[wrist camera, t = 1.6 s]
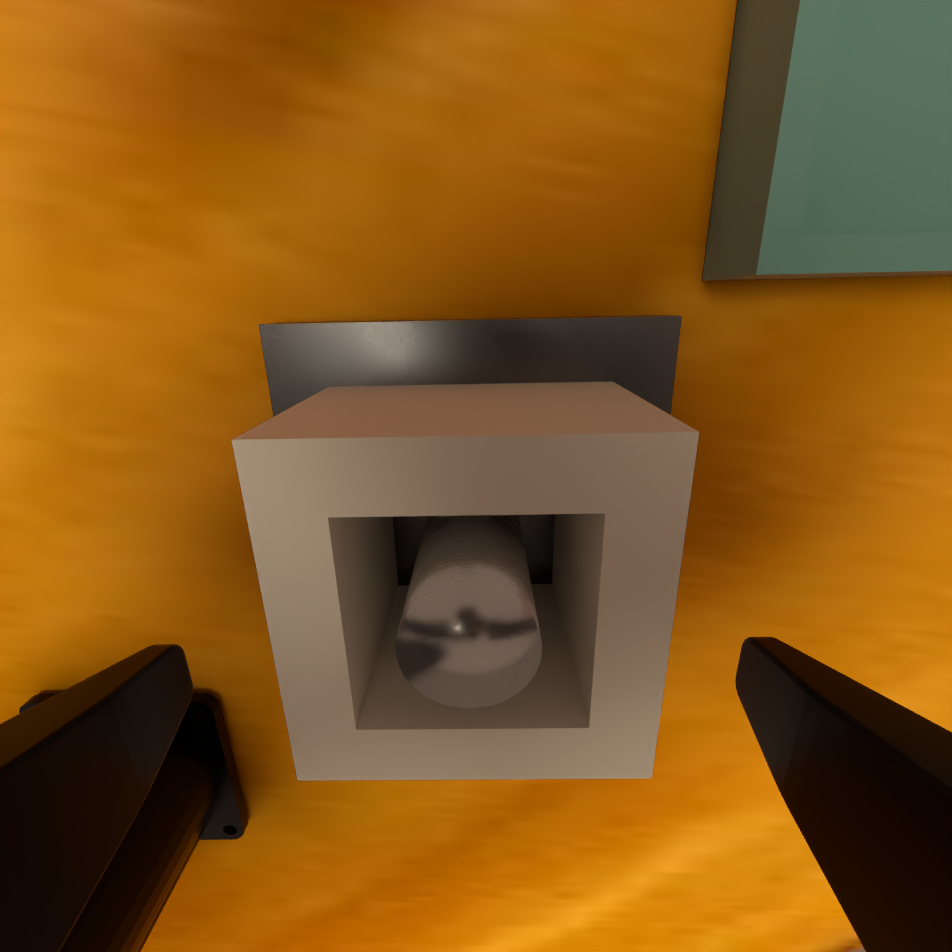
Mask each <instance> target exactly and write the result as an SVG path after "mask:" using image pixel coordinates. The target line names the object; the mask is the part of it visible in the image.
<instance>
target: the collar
mask: <svg viewBox="0 0 952 952" xmlns="http://www.w3.org/2000/svg"><path fill="white" fill-rule="evenodd" d="M698 438H699V431H697V430H695V429H693V428H692V427H690V426H688V425H687V424H685V423H683V422H681V421H680V420H678V419H676V418H675V417H673V416H671V415H669V414H668V413H666V412H664V411H663V410H661V409H659V408H657V407H656V406H654V405H652V404H651V403H649V402H647V401H645V400H644V399H642V398H640V397H639V396H637V395H635V394H633V393H632V392H630V391H628V390H627V389H625V388H623V387H621V386H620V385H618V384H616V383H615V382H613V381H611V382H556V383H500V384H445V385H390V386H335V387H327V388H326V389H324V390H322V391H320V392H318V393H316V394H315V395H313V396H311V397H309V398H307V399H305V400H304V401H302V402H300V403H298V404H296V405H294V406H293V407H291V408H289V409H287V410H285V411H283V412H282V413H280V414H278V415H276V416H274V417H272V418H271V419H269V420H267V421H265V422H263V423H261V424H260V425H258V426H256V427H254V428H252V429H250V430H248V431H247V432H245V433H243V434H241V435H239V436H237V437H236V438H234V439H232V445H233V450H234V455H235V460H236V466H237V471H238V476H239V481H240V486H241V491H242V497H243V502H244V507H245V512H246V517H247V522H248V528H249V533H250V538H251V543H252V548H253V553H254V559H255V564H256V569H257V574H258V579H259V584H260V590H261V595H262V600H263V605H264V610H265V615H266V621H267V626H268V631H269V636H270V641H271V646H272V652H273V657H274V662H275V667H276V672H277V677H278V683H279V688H280V693H281V698H282V703H283V708H284V714H285V719H286V724H287V729H288V734H289V739H290V744H291V750H292V755H293V760H294V765H295V770H296V775H297V781H319V780H479V779H639V778H652V772H653V765H654V758H655V750H656V743H657V736H658V728H659V721H660V714H661V707H662V699H663V692H664V685H665V678H666V670H667V663H668V656H669V649H670V641H671V634H672V627H673V620H674V612H675V605H676V598H677V591H678V583H679V576H680V569H681V562H682V554H683V547H684V540H685V533H686V525H687V518H688V511H689V504H690V496H691V489H692V482H693V475H694V467H695V460H696V453H697V446H698ZM536 514H555V521H554V547H553V574H552V584H531V586H532V591H533V597H534V602H535V608H536V614H537V619H538V625H539V630H540V636H541V641H542V655H541V661H540V664H539V667H538V669H537V672H536V673H535V675H534V677H533V678H532V680H531V681H530V682H529V683H528V684H527V686H526V687H525V688H523V689H522V690H521V691H520V692H519V693H517V694H516V695H514V696H513V697H511V698H509V699H507V700H505V701H503V702H501V703H498V704H495V705H491V706H487V707H481V708H459V707H452V706H448V705H444V704H441V703H439V702H436V701H434V700H432V699H430V698H428V697H426V696H425V695H423V694H422V693H420V692H419V691H418V690H416V689H415V688H414V687H413V686H412V685H411V684H410V683H409V682H408V680H407V679H406V677H405V676H404V675H403V673H402V671H401V669H400V667H399V664H398V661H397V656H396V638H397V633H398V629H399V625H400V621H401V617H402V613H403V609H404V605H405V601H406V597H407V593H408V589H409V585H404V586H398V577H397V565H396V553H395V542H394V530H393V518H392V517H395V516H465V515H536Z"/></svg>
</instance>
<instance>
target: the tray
mask: <svg viewBox="0 0 952 952" xmlns="http://www.w3.org/2000/svg"><path fill="white" fill-rule="evenodd" d="M939 275H952V0H738V2H737V10H736V18H735V26H734V33H733V41H732V49H731V57H730V65H729V73H728V81H727V89H726V97H725V105H724V113H723V120H722V128H721V136H720V144H719V152H718V160H717V168H716V176H715V184H714V192H713V200H712V208H711V215H710V223H709V231H708V239H707V247H706V255H705V263H704V271H703V279H702V280H749V279H797V278H844V277H891V276H939Z"/></svg>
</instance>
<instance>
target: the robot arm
mask: <svg viewBox="0 0 952 952" xmlns="http://www.w3.org/2000/svg"><path fill="white" fill-rule="evenodd" d="M736 689H737V693H738V696H739V698H740V701H741V703H742V705H743V708H744V710H745V712H746V715H747V717H748V719H749V722H750V724H751V726H752V729H753V731H754V733H755V736H756V738H757V741H758V743H759V745H760V748H761V750H762V752H763V755H764V757H765V759H766V762H767V764H768V766H769V769H770V771H771V773H772V776H773V778H774V780H775V782H776V784H777V787H778V789H779V791H780V793H781V795H782V797H783V799H784V801H785V803H786V805H787V807H788V809H789V811H790V812H791V814H792V816H793V818H794V820H795V822H796V824H797V825H798V827H799V829H800V831H801V833H802V835H803V836H804V838H805V840H806V842H807V844H808V846H809V848H810V849H811V851H812V853H813V855H814V857H815V859H816V860H817V862H818V864H819V866H820V868H821V870H822V872H823V873H824V875H825V877H826V879H827V881H828V883H829V884H830V886H831V888H832V890H833V892H834V894H835V896H836V897H837V899H838V901H839V903H840V905H841V907H842V908H843V910H844V912H845V914H846V916H847V918H848V920H849V921H850V923H851V925H852V927H853V929H854V931H855V932H856V934H857V936H858V938H859V940H860V942H861V944H862V945H863V947H864V949H865V951H866V952H952V732H950V731H948V730H946V729H944V728H943V727H941V726H939V725H937V724H935V723H933V722H931V721H930V720H928V719H926V718H924V717H922V716H920V715H918V714H916V713H915V712H913V711H911V710H909V709H907V708H905V707H903V706H902V705H900V704H898V703H896V702H894V701H892V700H890V699H888V698H887V697H885V696H883V695H881V694H879V693H877V692H875V691H873V690H872V689H870V688H868V687H866V686H864V685H862V684H860V683H859V682H857V681H855V680H853V679H851V678H849V677H847V676H845V675H844V674H842V673H840V672H838V671H836V670H834V669H832V668H831V667H829V666H827V665H825V664H823V663H821V662H819V661H817V660H816V659H814V658H812V657H810V656H808V655H806V654H804V653H803V652H801V651H799V650H797V649H795V648H793V647H791V646H789V645H788V644H786V643H784V642H782V641H780V640H778V639H776V638H773V637H749V638H747V639H745V640H744V642H743V644H742V648H741V653H740V658H739V664H738V669H737V674H736ZM19 712H20V714H19V715H17V716H15V717H13V718H11V719H9V720H7V721H5V722H3V723H1V724H0V952H141V950H142V948H143V946H144V944H145V942H146V940H147V938H148V936H149V934H150V932H151V931H152V929H153V927H154V925H155V923H156V921H157V919H158V917H159V915H160V913H161V912H162V910H163V908H164V906H165V904H166V902H167V900H168V898H169V896H170V894H171V893H172V891H173V889H174V887H175V885H176V883H177V881H178V879H179V877H180V875H181V873H182V872H183V870H184V868H185V866H186V864H187V862H188V860H189V858H190V856H191V854H192V853H193V851H194V849H195V847H196V845H197V843H198V841H199V840H219V839H238V838H240V837H241V836H242V835H243V834H244V831H245V829H246V827H247V825H248V815H247V811H246V807H245V803H244V799H243V795H242V791H241V787H240V783H239V779H238V775H237V771H236V767H235V763H234V759H233V755H232V751H231V747H230V743H229V739H228V735H227V731H226V727H225V723H224V719H223V715H222V711H221V707H220V704H219V702H218V700H217V699H216V698H215V697H214V696H212V695H210V694H207V693H193V684H192V680H191V676H190V672H189V669H188V665H187V661H186V657H185V653H184V651H183V649H182V648H181V647H180V646H179V645H176V644H157V645H151V646H149V647H147V648H145V649H143V650H141V651H139V652H137V653H135V654H133V655H131V656H130V657H128V658H126V659H124V660H122V661H120V662H118V663H116V664H114V665H112V666H110V667H108V668H107V669H105V670H103V671H101V672H99V673H97V674H95V675H93V676H91V677H89V678H87V679H86V680H84V681H82V682H80V683H78V684H76V685H74V686H72V687H70V688H68V689H66V690H64V691H63V692H61V693H59V694H39V695H35V696H33V697H32V698H31V699H29V700H28V701H27V702H26V703H25V704H24V705H23V706H21V708H20V710H19Z"/></svg>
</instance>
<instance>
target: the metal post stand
mask: <svg viewBox="0 0 952 952" xmlns="http://www.w3.org/2000/svg"><path fill="white" fill-rule="evenodd" d="M681 318H682V316H674V315H644V316H594V317H544V318H494V319H445V320H395V321H345V322H295V323H269V324H259V329H260V335H261V342H262V348H263V354H264V360H265V366H266V373H267V379H268V385H269V391H270V398H271V404H272V410H273V416H276V415H278V414H280V413H282V412H283V411H285V410H287V409H289V408H291V407H293V406H294V405H296V404H298V403H300V402H302V401H304V400H305V399H307V398H309V397H311V396H313V395H315V394H316V393H318V392H320V391H322V390H324V389H326V388H327V387H335V386H390V385H445V384H500V383H556V382H611V381H613V382H615V383H616V384H618V385H620V386H621V387H623V388H625V389H627V390H628V391H630V392H632V393H633V394H635V395H637V396H639V397H640V398H642V399H644V400H645V401H647V402H649V403H651V404H652V405H654V406H656V407H657V408H659V409H661V410H663V411H664V412H666V413H668V414H669V415H670V413H671V404H672V395H673V387H674V378H675V369H676V361H677V352H678V344H679V335H680V326H681ZM392 518H393V530H394V542H395V553H396V565H397V577H398V586H404V585H409V589H408V593H407V597H406V601H405V605H404V609H403V613H402V617H401V621H400V625H399V629H398V633H397V638H396V656H397V661H398V664H399V667H400V669H401V671H402V673H403V675H404V676H405V677H406V679H407V680H408V682H409V683H410V684H411V685H412V686H413V687H414V688H415V689H416V690H418V691H419V692H420V693H422V694H423V695H425V696H426V697H428V698H430V699H432V700H434V701H436V702H439V703H441V704H444V705H448V706H452V707H459V708H481V707H487V706H491V705H495V704H498V703H501V702H503V701H505V700H507V699H509V698H511V697H513V696H514V695H516V694H517V693H519V692H520V691H521V690H522V689H523V688H525V687H526V686H527V684H528V683H529V682H530V681H531V680H532V678H533V677H534V675H535V673H536V672H537V669H538V667H539V664H540V661H541V655H542V641H541V636H540V630H539V625H538V619H537V614H536V608H535V602H534V597H533V591H532V586H531V584H552V574H553V547H554V521H555V514H536V515H465V516H395V517H392Z"/></svg>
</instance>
